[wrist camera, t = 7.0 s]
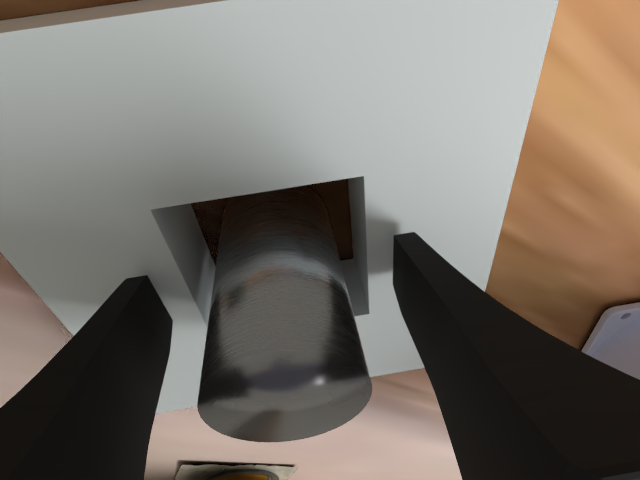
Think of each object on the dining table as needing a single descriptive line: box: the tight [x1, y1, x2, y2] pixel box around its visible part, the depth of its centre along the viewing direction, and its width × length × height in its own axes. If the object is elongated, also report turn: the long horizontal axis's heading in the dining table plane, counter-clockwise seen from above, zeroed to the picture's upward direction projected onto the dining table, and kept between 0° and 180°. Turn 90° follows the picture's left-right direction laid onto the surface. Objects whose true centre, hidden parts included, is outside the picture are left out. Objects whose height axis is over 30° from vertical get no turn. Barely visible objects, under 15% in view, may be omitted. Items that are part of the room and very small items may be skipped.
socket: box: [0, 0, 559, 414], centre depth 13 cm, size 14×14×3 cm
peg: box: [197, 185, 372, 442], centre depth 11 cm, size 4×4×7 cm
